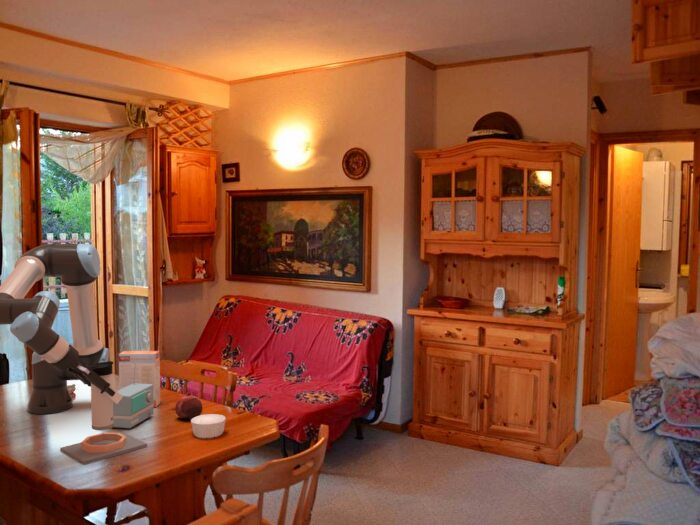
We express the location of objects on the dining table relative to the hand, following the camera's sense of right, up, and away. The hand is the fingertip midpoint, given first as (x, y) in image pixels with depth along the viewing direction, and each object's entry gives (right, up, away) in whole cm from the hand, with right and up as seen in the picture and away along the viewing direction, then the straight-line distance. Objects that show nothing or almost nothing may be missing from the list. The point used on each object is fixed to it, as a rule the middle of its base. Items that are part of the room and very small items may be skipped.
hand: (114, 397), depth 193 cm
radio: (-2, -14, +24) cm, 28 cm away
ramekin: (+27, -15, +13) cm, 33 cm away
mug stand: (-3, -15, -1) cm, 16 cm away
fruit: (+16, -14, +29) cm, 36 cm away
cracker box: (-7, -13, +44) cm, 47 cm away
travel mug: (-2, -9, -2) cm, 9 cm away
